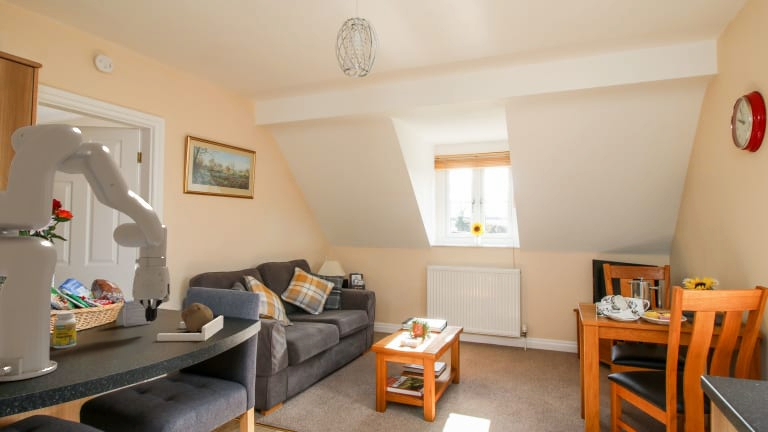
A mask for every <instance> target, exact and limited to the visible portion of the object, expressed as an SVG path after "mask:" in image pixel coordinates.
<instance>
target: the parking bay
mask: <svg viewBox="0 0 768 432" xmlns="http://www.w3.org/2000/svg"><path fill="white" fill-rule="evenodd" d="M223 328H224V315H218V317H216V318H213V321H211V322H209V323H208V324H206V325H205V326H203V327H202V331H201V332H189V333H188V332H187V333H184V332H183V333H182V332H180V333H177V332H175V333H173V332H172V333H171V332H170V333H167V332H166V333H162V332H161V333H158V334H157V336H156V341H157V342H183V341H185V342H189V341H191V342H192V341H198V342H200V341H202V342H203V341H204V342H205V341H207V340H208V339H209V338H211V337H212V336H213V335H214V334H216V333H218V332H219V331H220V330H222V329H223ZM179 329H187V328H186V326H185V323H184V321H180V322H179Z"/></svg>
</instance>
